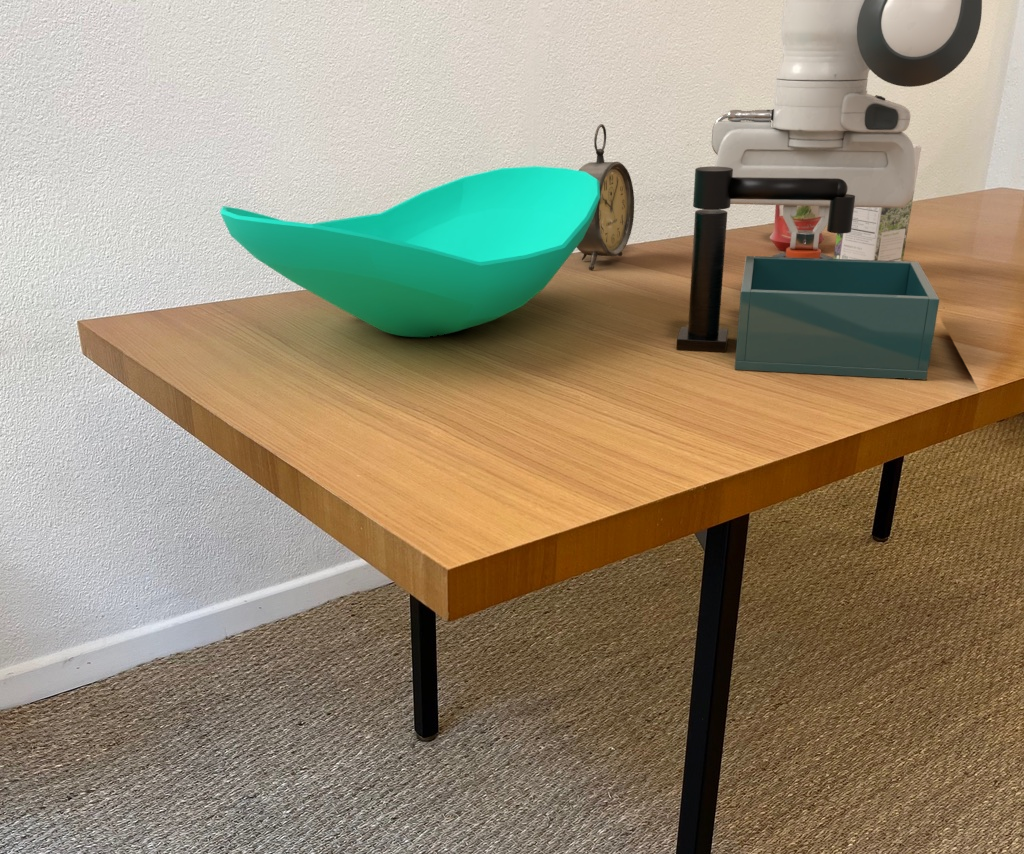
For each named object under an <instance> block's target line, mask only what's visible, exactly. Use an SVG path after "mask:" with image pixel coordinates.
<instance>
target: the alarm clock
mask: <svg viewBox="0 0 1024 854" xmlns="http://www.w3.org/2000/svg"><path fill="white" fill-rule="evenodd" d="M600 128H602V131H603V132H602V133H603V143H602V147H601V148H598V144H597V141H598V134H599V131H600ZM593 144H594V150H595V154H596V161H593V162H587V163H586V164H584V165H582V166H581V167H580V168H579V169H578V171H584V172H586V173H588V174H590V175H591V176H593V177H594V178H596V179H597V180H598V181H599V186H600V199H599V202H598V205H597V208H596V211H595V215H594V217H593V219H592V221H591V223H590V225H589V228H588V230H587V232H586V234H585V236H584V238H583V240H582V241H581V242H580V243H579V245H578V246H577V247H576V249H577V250H578V251H579V252H581V253H582V254H583V255H582V258H581V261H583V260H585V258H586V257H587V256H590V265H589V266H588V269H589V271H594V270H595V264H596V262H597V258H598V257H616V256H619V257H622V256H623V251H624V250H625V248H626V247H627V244H628V242H629V239H630V237H631V234H632V230H633V226H634V218H635V194H634V193H635V192H634V187H633V181H632V178H631V175H630V173H629V171H628V168H627V167H626V166H625V165H624V164H623V163H622V162H620V161H605V158H604V153H605V149H606V144H607V130H606V127H605V125H604V124H603V123H600V124H599V125H597V128H596V129H595V133H594V139H593Z"/></svg>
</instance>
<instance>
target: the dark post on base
mask: <svg viewBox="0 0 1024 854" xmlns="http://www.w3.org/2000/svg"><path fill="white" fill-rule="evenodd" d="M727 222H728V211H727V210H725V209H720V210H707V209H698V210H695V211H694V225H693V238H692V239H693V240H692V241H693V242H692V258H691V272H690V273H691V275H690V290H689V305H688V306H689V308H688V324H687V326H681V327H680V329H679V333H678V336H677V339H676V350H677V351H692V350H694V352H710V353H711V352H714V353H726V352H727V344H728V339H729V329H728V328H720V321H721V320H720V319H721V307H722V306H721V305H722V292H723V277H724V264H725V250H726V239H727V236H726V235H727V225H728V223H727Z"/></svg>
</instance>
